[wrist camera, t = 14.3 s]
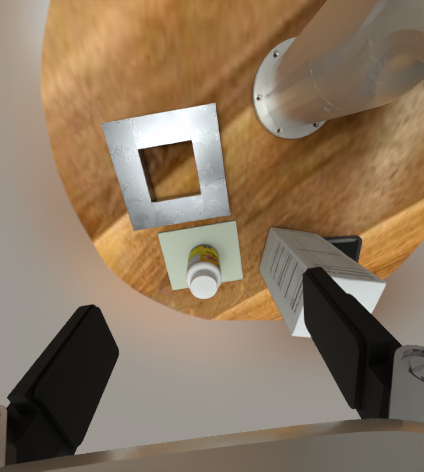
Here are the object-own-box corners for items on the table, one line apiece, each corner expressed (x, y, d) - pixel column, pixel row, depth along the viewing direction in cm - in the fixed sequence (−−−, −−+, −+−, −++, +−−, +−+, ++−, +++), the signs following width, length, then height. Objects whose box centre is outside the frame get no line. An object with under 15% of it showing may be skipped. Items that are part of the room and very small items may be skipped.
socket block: (214, 107, 33) (215, 103, 30) (228, 210, 39) (230, 214, 36) (109, 125, 34) (100, 123, 31) (138, 225, 39) (133, 230, 36)
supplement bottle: (224, 259, 42) (230, 291, 32) (200, 274, 43) (199, 310, 33) (207, 236, 40) (209, 263, 30) (182, 253, 41) (176, 284, 31)
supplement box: (257, 270, 43) (288, 337, 28) (269, 225, 40) (311, 273, 25) (303, 275, 44) (359, 344, 29) (318, 233, 41) (390, 283, 25)
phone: (282, 241, 41) (363, 236, 41) (280, 239, 42) (359, 234, 42) (279, 278, 43) (355, 273, 44) (278, 275, 45) (352, 270, 45)
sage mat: (235, 220, 40) (235, 220, 39) (242, 277, 44) (243, 278, 43) (158, 232, 40) (157, 233, 39) (173, 288, 44) (172, 290, 44)
